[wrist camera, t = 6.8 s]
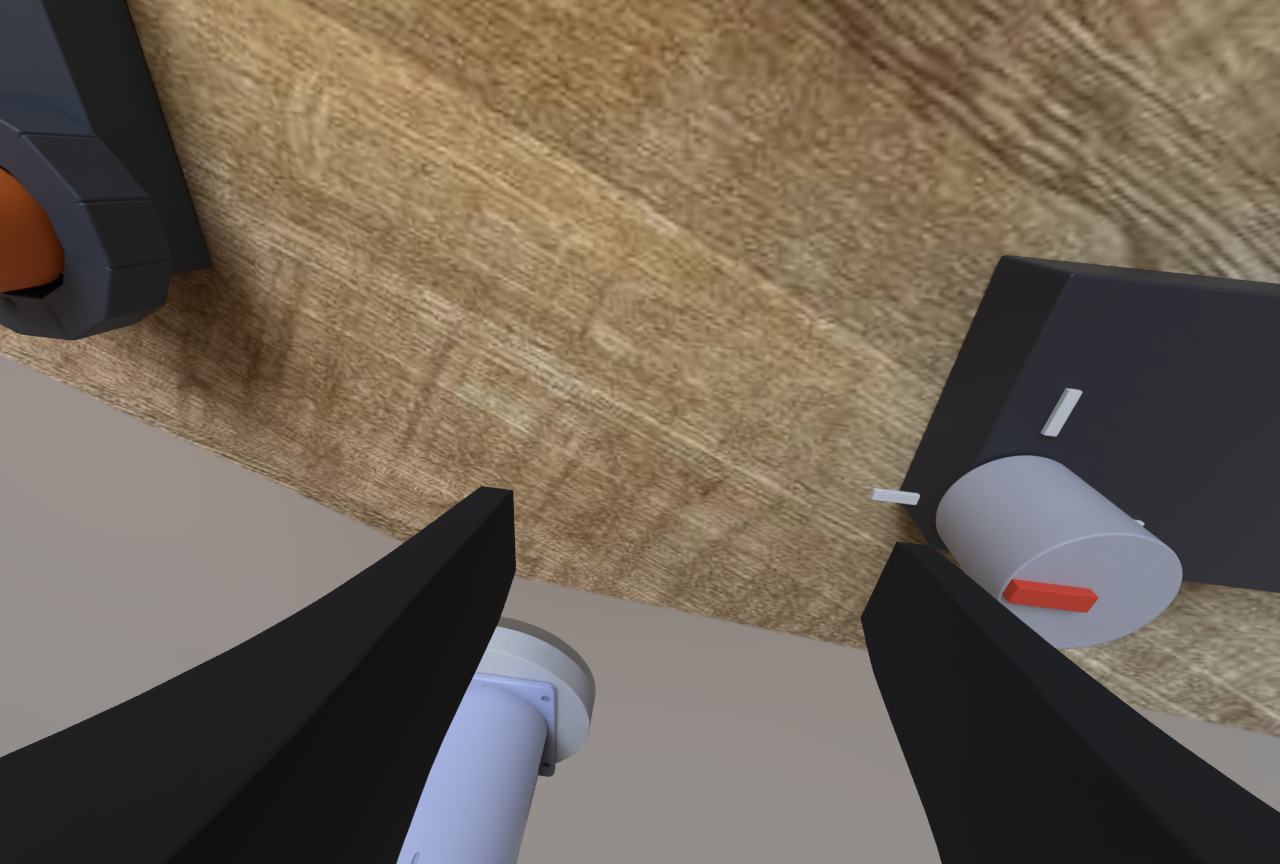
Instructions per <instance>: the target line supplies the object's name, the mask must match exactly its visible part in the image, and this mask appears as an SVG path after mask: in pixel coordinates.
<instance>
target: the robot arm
mask: <svg viewBox="0 0 1280 864" xmlns="http://www.w3.org/2000/svg"><path fill="white" fill-rule="evenodd" d="M515 571H516V557H515V529H514V501H513V490H507V489H499V488H492V487H484V486H481V487H480V488H478V489H477V490H476V491H474V492H473V493H471V494H470V495H469V496H467V497H466V498H464V499H463V500H462V501H460V502H459V503H458V504H456V505H455V506H454V507H452V508H451V509H450V510H448V511H447V512H446V513H444V514H443V515H442V516H440V517H439V518H438V519H436V520H435V521H433V522H432V523H431V524H429V525H428V526H427V527H425V528H424V529H423V530H421V531H420V532H418V533H417V534H416V535H414V536H413V537H411V538H410V539H409V540H407V541H406V542H404V543H403V544H402V545H400V546H399V547H398V548H396V549H395V550H393V551H392V552H390V553H389V554H388V555H386V556H385V557H383V558H382V559H380V560H379V561H377V562H376V563H374V564H373V565H371V566H370V567H368V568H367V569H365V570H363V571H362V572H360V573H359V574H357V575H356V576H354V577H353V578H351V579H350V580H348V581H347V582H345V583H344V584H342V585H341V586H339V587H338V588H336V589H334V590H333V591H332V592H330V593H328V594H327V595H325V596H323V597H322V598H321V599H318V600H317V601H316V602H314V603H312V604H310V605H309V606H307V607H305V608H303V609H302V610H300V611H298V612H297V613H295V614H293V615H292V616H290V617H288V618H286V619H285V620H283V621H281V622H279V623H277V624H276V625H274V626H272V627H270V628H269V629H267V630H265V631H263V632H261V633H260V634H258V635H256V636H254V637H252V638H251V639H249V640H247V641H245V642H243V643H241V644H239V645H238V646H236V647H234V648H232V649H230V650H228V651H226V652H224V653H222V654H220V655H218V656H216V657H214V658H212V659H210V660H208V661H206V662H204V663H202V664H200V665H198V666H196V667H194V668H192V669H191V670H188V671H186V672H184V673H182V674H180V675H178V676H176V677H174V678H172V679H170V680H168V681H166V682H164V683H163V684H160V685H158V686H156V687H154V688H152V689H150V690H148V691H146V692H144V693H142V694H140V695H138V696H136V697H134V698H132V699H130V700H128V701H126V702H124V703H121V704H119V705H117V706H115V707H113V708H110V709H108V710H106V711H104V712H102V713H99V714H97V715H95V716H93V717H91V718H89V719H86V720H84V721H82V722H80V723H78V724H75V725H73V726H71V727H69V728H67V729H64V730H63V731H60V732H58V733H55V734H53V735H51V736H48V737H46V738H44V739H41V740H39V741H37V742H35V743H32V744H30V745H28V746H25V747H23V748H21V749H19V750H16V751H14V752H12V753H9V754H7V755H5V756H3V757H1V758H0V864H516V863H517V859H518V855H519V851H520V847H521V843H522V839H523V835H524V831H525V827H526V822H527V818H528V814H529V810H530V806H531V802H532V798H533V794H534V790H535V785H536V782H537V778H538V776H545V777H551V776H553V775H554V772H555V750H556V688H555V686H554V685H553V684H551V683H548V682H542V681H535V680H527V679H520V678H513V677H506V676H499V675H491V674H484V673H477V672H476V670H477V667H478V665H479V663H480V661H481V659H482V657H483V655H484V652H485V650H486V648H487V646H488V644H489V642H490V639H491V637H492V635H493V633H494V631H495V629H496V626H497V624H498V622H499V620H500V617H501V614H502V611H503V608H504V605H505V602H506V599H507V596H508V593H509V590H510V587H511V584H512V580H513V578H514V575H515ZM861 621H862V626H863V631H864V635H865V640H866V645H867V649H868V653H869V657H870V661H871V665H872V669H873V673H874V675H875V678H876V681H877V684H878V687H879V689H880V692H881V695H882V697H883V700H884V703H885V706H886V709H887V711H888V714H889V717H890V719H891V722H892V725H893V727H894V730H895V733H896V735H897V738H898V741H899V743H900V746H901V749H902V751H903V754H904V757H905V759H906V762H907V764H908V767H909V769H910V772H911V775H912V778H913V780H914V783H915V785H916V788H917V791H918V794H919V796H920V799H921V801H922V804H923V807H924V809H925V812H926V815H927V818H928V821H929V824H930V827H931V830H932V833H933V836H934V839H935V842H936V845H937V848H938V851H939V855H940V859H941V862H942V864H1280V813H1279V812H1278V811H1276V810H1275V809H1274V808H1272V807H1271V806H1269V805H1268V804H1266V803H1264V802H1263V801H1261V800H1260V799H1259V798H1257V797H1256V796H1254V795H1253V794H1251V793H1250V792H1248V791H1247V790H1245V789H1244V788H1242V787H1241V786H1240V785H1238V784H1237V783H1235V782H1234V781H1233V780H1231V779H1230V778H1228V777H1227V776H1225V775H1224V774H1223V773H1221V772H1220V771H1218V770H1217V769H1215V768H1214V767H1213V766H1211V765H1210V764H1208V763H1207V762H1206V761H1204V760H1203V759H1201V758H1200V757H1198V756H1197V755H1195V754H1194V753H1193V752H1191V751H1190V750H1188V749H1187V748H1186V747H1184V746H1183V745H1181V744H1180V743H1178V742H1177V741H1176V740H1174V739H1173V738H1172V737H1170V736H1169V735H1167V734H1166V733H1165V732H1163V731H1162V730H1161V729H1159V728H1158V727H1156V726H1155V725H1154V724H1152V723H1151V722H1150V721H1148V720H1147V719H1146V718H1144V717H1143V716H1142V715H1140V714H1139V713H1138V712H1136V711H1135V710H1134V709H1133V708H1131V707H1130V706H1129V705H1127V704H1126V703H1125V702H1123V701H1122V700H1121V699H1120V698H1118V697H1117V696H1116V695H1114V694H1113V693H1112V692H1110V691H1109V690H1108V689H1107V688H1105V687H1104V686H1103V685H1101V684H1100V683H1099V682H1097V681H1096V680H1095V679H1094V678H1092V677H1091V676H1090V675H1088V674H1087V673H1086V672H1085V671H1083V670H1082V669H1081V668H1080V667H1078V666H1077V665H1076V664H1075V663H1073V662H1072V661H1071V660H1070V659H1068V658H1067V657H1066V656H1065V655H1063V654H1062V653H1061V652H1060V651H1058V650H1057V649H1056V648H1055V647H1053V646H1052V645H1051V644H1050V643H1049V642H1047V641H1046V640H1045V639H1044V638H1042V637H1041V636H1040V635H1039V634H1038V633H1036V632H1035V631H1034V630H1033V629H1031V628H1030V627H1029V626H1028V625H1027V624H1025V623H1024V622H1023V621H1022V620H1021V619H1019V618H1018V617H1017V616H1016V615H1015V614H1013V613H1012V612H1011V611H1010V610H1009V609H1007V608H1006V607H1005V606H1004V605H1003V604H1001V603H1000V602H999V601H998V600H997V599H995V598H994V597H993V596H992V595H991V594H990V593H988V592H987V591H986V590H985V589H984V588H982V587H981V586H980V585H979V584H978V583H976V582H975V581H974V580H973V579H971V578H970V577H969V576H968V575H967V574H965V573H964V572H963V571H962V570H961V569H959V568H958V567H957V566H956V565H954V564H953V563H952V562H951V561H949V560H948V559H947V558H945V557H944V556H943V555H942V554H940V553H939V552H937V551H936V550H935V549H933V548H932V547H931V546H926V545H918V544H911V543H903V542H896V544H895V546H894V548H893V550H892V552H891V555H890V557H889V559H888V561H887V563H886V565H885V567H884V569H883V571H882V574H881V576H880V578H879V580H878V582H877V584H876V586H875V588H874V591H873V593H872V595H871V597H870V599H869V601H868V603H867V605H866V607H865V610H864V612H863V614H862V616H861Z"/></svg>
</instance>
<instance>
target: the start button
mask: <svg viewBox="0 0 1280 864" xmlns="http://www.w3.org/2000/svg"><path fill="white" fill-rule="evenodd" d="M64 258H65V251H64V249H63V247H62V245H61V243H60V241H59V239H58V236H57V234H56V232H55V230H54V228H53V226H52V224H51V222H50V219H49V217H48V215H47V213H46V211H45V210H44V209H43V208H42V207H41V206H40V204H39V203H38V202H37V201H36V200H35V199H34V198H33V197H32V196H31V195H30V194H29V193H28V191H27V190H26V189H25V188H24V187H23V186H22V185H21V184H20V183H19V182H18V181H17V179H16V178H15V177H13V176H12V175H11V174H10V173H8V172H6V171H5V170H3V169H2V168H0V293H1V292H6V291H12V290H18V289H24V288H29V287H35V286H41V285H46V284H49V283H51V282H53V281H55V280H56V279H57V278H58V277H59V276H60V274H61V273H62V271H63V268H64Z"/></svg>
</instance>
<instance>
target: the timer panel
mask: <svg viewBox="0 0 1280 864" xmlns="http://www.w3.org/2000/svg"><path fill="white" fill-rule="evenodd" d="M1024 455H1028V456H1039V457H1044V458H1048V459H1051V460H1054V461H1056V462H1058V463H1060V464H1062V465H1064V466H1065V467H1066V468H1068V469H1069V470H1070V471H1072V472H1073V473H1074V474H1075V475H1077V476H1078V477H1079V478H1081V479H1082V480H1083V481H1084V482H1086V483H1087V484H1088V485H1090V486H1091V487H1092V488H1094V489H1095V490H1096V491H1097V492H1099V493H1100V494H1101V495H1103V496H1104V497H1105V498H1106V499H1108V500H1109V501H1110V502H1112V503H1113V504H1114V505H1115V506H1117V507H1118V508H1119V509H1121V510H1122V511H1123V512H1124V513H1126V514H1127V515H1128V516H1130V517H1131V518H1132V519H1133V520H1135V521H1136V522H1137V523H1139V524H1140V525H1141V526H1142V527H1144V528H1145V529H1146V530H1148V531H1149V532H1150V533H1152V534H1153V535H1154V536H1155V537H1157V538H1158V539H1159V540H1161V541H1162V542H1163V543H1164V544H1166V545H1167V546H1168V547H1170V548H1171V550H1172V551H1173V552H1174V553H1175V554H1176V555H1177V557H1178V559H1179V561H1180V563H1181V567H1182V575H1183V577H1182V581H1189V582H1197V583H1205V584H1213V585H1221V586H1229V587H1237V588H1245V589H1253V590H1260V591H1268V592H1276V593H1280V284H1276V283H1266V282H1257V281H1247V280H1238V279H1228V278H1219V277H1209V276H1200V275H1190V274H1181V273H1171V272H1162V271H1152V270H1143V269H1133V268H1124V267H1114V266H1105V265H1095V264H1086V263H1076V262H1067V261H1057V260H1048V259H1038V258H1029V257H1019V256H1010V255H1005V256H1002V257H1001V259H1000V261H999V264H998V266H997V268H996V271H995V273H994V275H993V278H992V280H991V282H990V284H989V287H988V289H987V291H986V294H985V296H984V298H983V301H982V303H981V305H980V307H979V310H978V312H977V314H976V317H975V319H974V321H973V324H972V326H971V328H970V331H969V333H968V335H967V337H966V340H965V342H964V344H963V347H962V349H961V351H960V354H959V356H958V358H957V360H956V363H955V365H954V367H953V370H952V372H951V374H950V377H949V379H948V381H947V384H946V386H945V388H944V390H943V393H942V395H941V397H940V400H939V402H938V404H937V407H936V409H935V411H934V414H933V416H932V418H931V420H930V423H929V425H928V427H927V430H926V432H925V434H924V437H923V439H922V441H921V443H920V446H919V448H918V450H917V453H916V455H915V457H914V460H913V462H912V464H911V467H910V469H909V471H908V473H907V476H906V478H905V480H904V483H903V485H902V487H901V490H900V491H895V490H886V489H878V488H873V491H872V493H871V496H870V498H871V499H872V500H878V501H887V502H895V503H902V505H903V506H904V508H905V509H906V511H907V513H908V514H909V516H910V517H911V519H912V520H913V522H914V523H915V525H916V526H917V528H918V529H919V531H920V533H921V534H922V536H923V537H924V539H925V540H926V542H927V543H928V545H929V546H931V547H932V548H933V549H935V550H942V551H949V549H948V548H947V547H946V545H945V544H944V542H943V541H942V539H941V538H940V536H939V534H938V531H937V528H936V513H937V509H938V506H939V504H940V501H941V500H942V498H943V496H944V495H945V493H946V492H947V491H948V490H949V488H950V487H951V486H952V485H953V484H954V483H955V482H956V481H958V480H959V479H960V478H961V477H962V476H964V475H965V474H967V473H968V472H970V471H972V470H973V469H975V468H977V467H979V466H981V465H983V464H986V463H988V462H991V461H994V460H997V459H1001V458H1006V457H1012V456H1024ZM963 572H964V571H963Z"/></svg>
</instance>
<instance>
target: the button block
mask: <svg viewBox="0 0 1280 864" xmlns="http://www.w3.org/2000/svg"><path fill="white" fill-rule="evenodd" d="M0 168H2V169H3V170H5V171H6V172H8V173H10V174H11V175H12V176H13V177H15V178H16V179H17V181H18V182H19V183H20V184H21V185H22V186H23V187H24V188H25V189H26V190H27V191H28V193H29V194H30V195H31V196H32V197H33V198H34V199H35V200H36V201H37V202H38V203H39V204H40V206H41V207H42V208H43V209H44V210H45V211H46V213H47V215H48V217H49V219H50V222H51V224H52V226H53V228H54V230H55V232H56V234H57V236H58V239H59V241H60V243H61V245H62V247H63V249H64V251H65V258H64V274H62V273H61V274H60V276H59V277H58V278H57V279H56V280H55V281H53V282H51V283H49V284H46V285H41V286H35V287H29V288H24V289H18V290H12V291H6V292H1V293H0V324H1V325H3V326H5V327H7V328H9V329H11V330H12V331H14V332H16V333H20V334H22V335H30V336H39V337H47V338H56V339H64V340H78V339H81V338H85V337H89V336H92V335H96V334H100V333H103V332H107V331H111V330H114V329H118V328H122V327H125V326H129V325H133V324H135V323H137V322H138V321H140V320H142V319H143V318H145V317H146V316H148V315H149V314H151V313H153V312H154V311H156V310H157V309H159V308H160V307H162V306H163V305H165V302H166V300H167V295H168V289H169V283H170V277H171V274H176V273H181V272H186V271H191V270H196V269H201V268H206V267H211V266H212V263H211V260H210V257H209V254H208V251H207V248H206V245H205V242H204V239H203V236H202V233H201V230H200V227H199V224H198V221H197V218H196V215H195V212H194V209H193V206H192V203H191V200H190V197H189V194H188V191H187V188H186V185H185V181H184V178H183V175H182V172H181V169H180V166H179V163H178V160H177V157H176V154H175V151H174V148H173V145H172V142H171V139H170V136H169V133H168V130H167V127H166V124H165V121H164V118H163V115H162V112H161V109H160V106H159V103H158V100H157V97H156V94H155V91H154V88H153V85H152V82H151V79H150V76H149V73H148V70H147V67H146V64H145V61H144V58H143V55H142V52H141V49H140V46H139V43H138V40H137V37H136V34H135V31H134V28H133V25H132V22H131V19H130V15H129V12H128V9H127V6H126V3H125V0H0Z"/></svg>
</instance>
